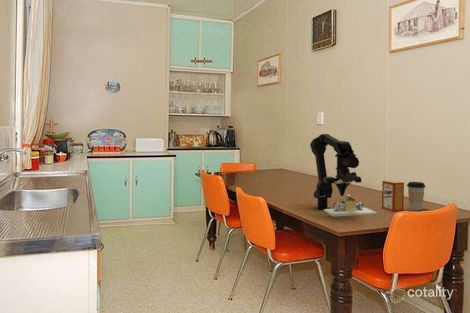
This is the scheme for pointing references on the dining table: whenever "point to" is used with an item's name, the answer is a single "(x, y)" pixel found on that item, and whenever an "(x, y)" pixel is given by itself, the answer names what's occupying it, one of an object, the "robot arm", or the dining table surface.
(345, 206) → the valve
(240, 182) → the dining table surface
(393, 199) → the baking soda box
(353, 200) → the lever
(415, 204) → the coffee cup
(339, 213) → the board
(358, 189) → the dining table surface
